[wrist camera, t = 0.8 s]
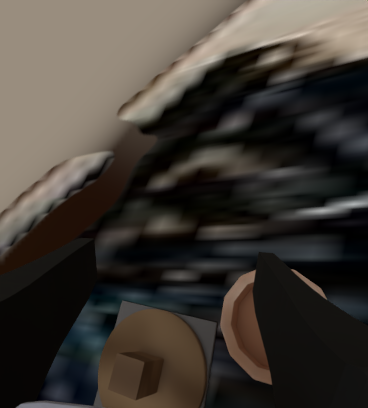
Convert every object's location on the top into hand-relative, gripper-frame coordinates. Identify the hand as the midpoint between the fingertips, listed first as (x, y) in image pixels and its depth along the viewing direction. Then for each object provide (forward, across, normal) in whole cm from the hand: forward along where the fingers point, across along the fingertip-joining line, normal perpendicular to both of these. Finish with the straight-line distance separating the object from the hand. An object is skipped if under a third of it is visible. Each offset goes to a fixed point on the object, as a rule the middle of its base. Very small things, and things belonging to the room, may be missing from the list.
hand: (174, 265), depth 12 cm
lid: (+7, +2, +16) cm, 18 cm away
